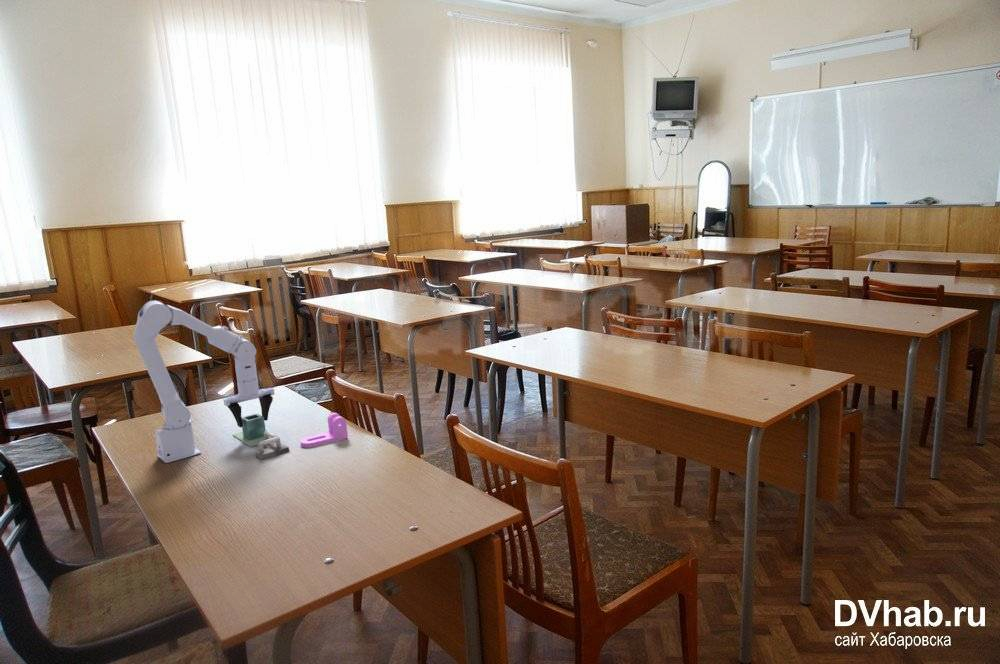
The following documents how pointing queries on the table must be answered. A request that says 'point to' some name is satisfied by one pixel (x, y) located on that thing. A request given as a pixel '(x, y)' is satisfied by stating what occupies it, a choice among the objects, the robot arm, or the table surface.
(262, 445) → the bar handle
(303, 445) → the bracket
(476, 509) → the table surface
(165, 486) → the table surface
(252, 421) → the collar
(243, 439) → the end mat
